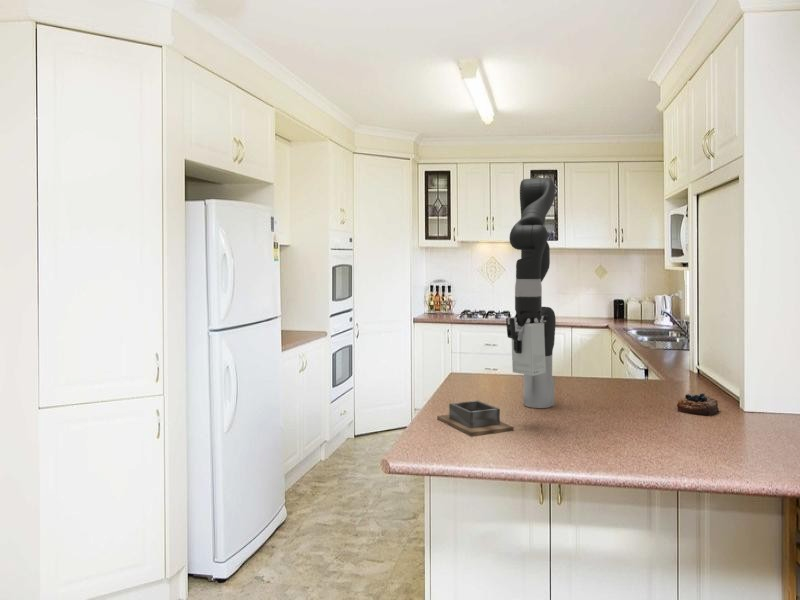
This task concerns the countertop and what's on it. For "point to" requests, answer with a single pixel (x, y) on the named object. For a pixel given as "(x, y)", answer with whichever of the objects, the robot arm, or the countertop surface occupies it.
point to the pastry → (698, 405)
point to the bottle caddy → (475, 418)
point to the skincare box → (530, 351)
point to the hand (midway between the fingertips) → (527, 352)
